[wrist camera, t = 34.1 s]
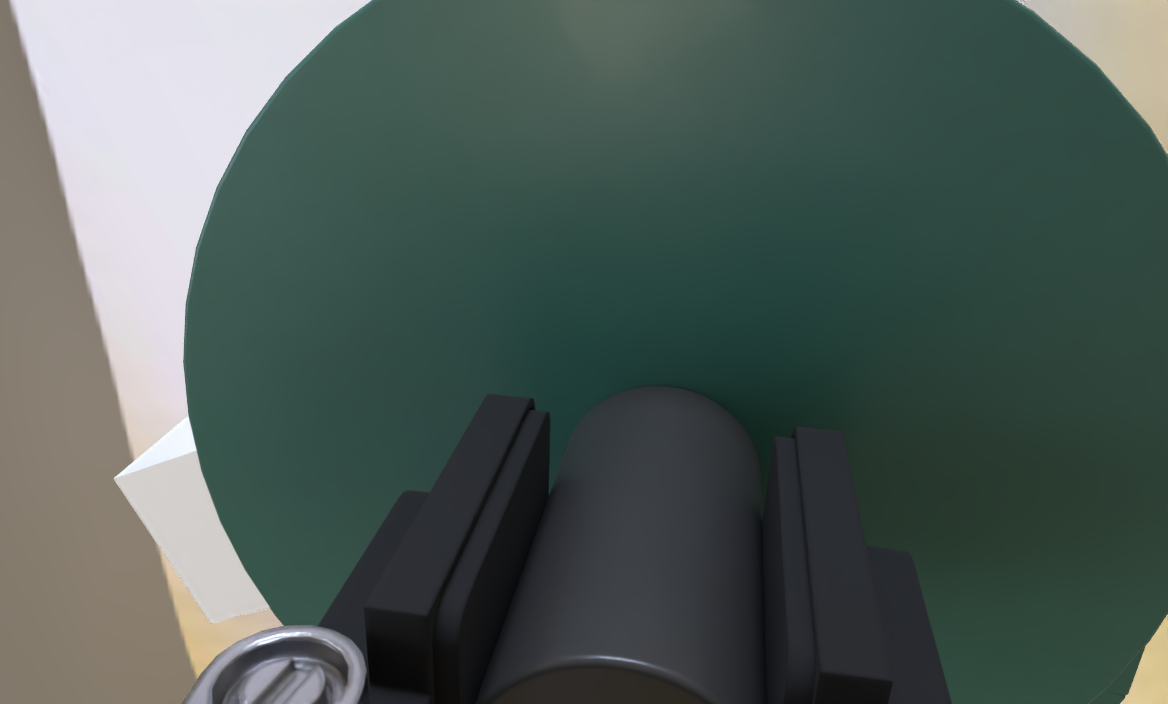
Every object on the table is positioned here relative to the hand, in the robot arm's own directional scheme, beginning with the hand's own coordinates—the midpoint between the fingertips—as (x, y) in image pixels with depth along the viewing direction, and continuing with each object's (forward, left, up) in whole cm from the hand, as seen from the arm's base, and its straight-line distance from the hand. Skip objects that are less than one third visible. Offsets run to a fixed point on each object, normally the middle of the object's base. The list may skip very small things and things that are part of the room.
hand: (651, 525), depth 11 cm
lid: (0, 0, -2) cm, 2 cm away
